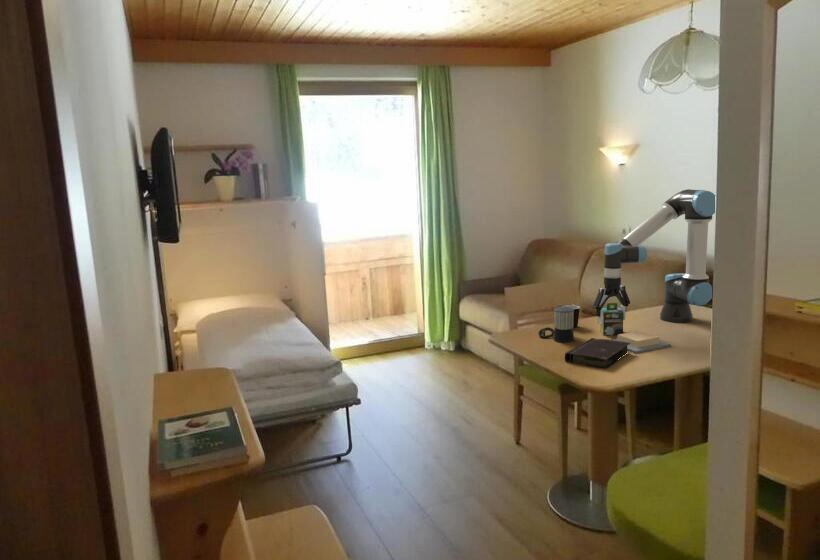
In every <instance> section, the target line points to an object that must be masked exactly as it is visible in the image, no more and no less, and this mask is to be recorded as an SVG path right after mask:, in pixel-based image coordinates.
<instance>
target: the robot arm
mask: <svg viewBox="0 0 820 560" xmlns="http://www.w3.org/2000/svg"><path fill="white" fill-rule="evenodd" d="M715 196H716V195H715V193H714V192H712V191H710V190H705V189H689V188H687V189H683V190H681V191H679V192H677V193H675V194H674V195H672V196H671V197H670V198H668V199H667V200H665V202H663V203H662V204H661V207H660V208H659V209H657V211H655V212H654V213H653V214H652V215H650V216H649V217H647V219H645V220H644V221H643V222H642V223H639V225H637V226H636V227H635V228H634V229H632V231H630V232H629V233H628V234H626V235H625V236H624V237H623V238H622V239H620V240H619V241H617V242H615V241H614V242H608V243H606V244H605V246H604V253H603V254H604V257H603V259H604V266H603V267H604V268H603V276H604V277H603V286H604V287H603V288H602V287H598V293H597V295H596V298H595V300H594V302H593V305H592V309H594V310H595V311H596V313H595V315H596V317H597V318H596V323H597V324H602V318H603V310H601V309H602V308H604V306H605V304H606V303H607V301H608V299H610V298H613V297H616V299H617V300H618V302H620V304H621V305H619V307H620V308H621V310H622V311H623V321H625V320H626V312H627V308H628V307H629V305H630V304H631V301H630V298H629V296H628V293H627V291H626V290H627V289H626V285H624V284H623V285H622V264H639V263H644V262H646V260H647V258H648V251H647V248H646V247H645V246H644V245H643V246H641V245H642V244H643V243H644V242H645V241H647V240H648V239H649V238H650V237H652V236H653V235H655V233H657V232H658V231H659V230H660V229H662V228H663V227H664V226H666V225H667V224H668V223H670V222H671V221H672V220H677V219H678V218H679V217H680V216H683V215H684V220H685V221H686V222H687V236H686V237H687V238H686V239H687V240H686V258H685V261H686V262H685V273H669V274H666V275H665V278H664V299H663V300H664V301H663V305H662V308H661V311H660V313H659V319H660V320H662V321H665V322H671V323H688V322H689V323H690V322H692V321H694V320H693V319H694V315H693V313H692V308H691V305H692V306H697V307H701V306H705V305H707V304H708V303H709V302H710V301H711V300H712V298H713V297H712V287H713V286H712V285H711V284H710V283H709V281H710V277H709V275H708V274H706V273H707V272H706V271H707V253H708V252H707V251H708V235H709V223H710V222H711V221H712V220H713V215H715V214H716V212H715Z"/></svg>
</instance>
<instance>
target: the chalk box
mask: <svg viewBox="0 0 820 560" xmlns="http://www.w3.org/2000/svg"><path fill="white" fill-rule="evenodd" d="M606 303H607V302H606ZM601 310H603V318H602V324H600V323H599V324H600V332H601V334H602V335H603V336H618V334H623V333H624V320H623V311H622V310H621V308H620V306H618V303H617V302H608V303H607V304H606V307H602V309H601Z"/></svg>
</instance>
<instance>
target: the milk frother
mask: <svg viewBox="0 0 820 560" xmlns="http://www.w3.org/2000/svg"><path fill="white" fill-rule="evenodd" d="M553 311H554V317H553V318H554V319H553V321H554V322H553V324H554V326H553V328H554V329H553V328H551V327H544V328H541V329H539V331H538V333H537V334H538V336H539V337H541V338H543V339H550V338H551V337H553V341H554V342H557V343H563V344H565V343H572V342H575V336H574V335H575V334H574V329H575V328H574V308H571V307H562V306H558V307H554V308H553ZM546 331H550V332H551V334H548V335H546Z"/></svg>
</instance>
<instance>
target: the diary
mask: <svg viewBox="0 0 820 560" xmlns="http://www.w3.org/2000/svg"><path fill="white" fill-rule="evenodd" d="M629 344H630V343H628V342H622V341H615V340H613V339H608V338H607V339H605V338H595V337H591V338H589V339H587V340H586V341H584V342H582V343H581V344H579V345H577V346H575V347H574V348H572V349H570V350H568V351H566V352H565V353H564V362H566V363H567V362H569V361H570V362H569V363H572V362H573V363H575V364H580V365H585V366H587V367H591V368H597V369H601V368H602V370H604V369H605V370H606V369H609V368H610V367H612V366H614V365H615V364H616V363H618V362H619V361H620V359H619V358H620V357H622V356H623V355H625V354H626V353H627V352H628V353H630V352H629V351H627V345H629ZM626 355H627V354H626ZM627 356H628V355H627ZM622 358H623V357H622ZM618 359H619V360H618ZM614 363H615V364H614ZM611 365H612V366H611Z"/></svg>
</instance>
